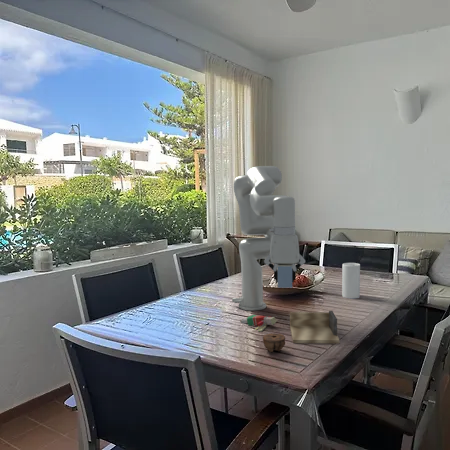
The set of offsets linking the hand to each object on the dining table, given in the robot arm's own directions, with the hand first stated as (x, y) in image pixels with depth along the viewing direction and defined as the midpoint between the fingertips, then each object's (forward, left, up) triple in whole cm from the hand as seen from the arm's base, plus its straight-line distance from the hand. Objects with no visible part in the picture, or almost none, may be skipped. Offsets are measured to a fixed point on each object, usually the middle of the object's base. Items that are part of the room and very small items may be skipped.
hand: (284, 281), depth 153 cm
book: (0, 0, -1) cm, 1 cm away
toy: (-10, +15, -22) cm, 28 cm away
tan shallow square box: (+11, +3, -21) cm, 24 cm away
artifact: (-4, -12, -21) cm, 25 cm away
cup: (+36, +57, -21) cm, 71 cm away
